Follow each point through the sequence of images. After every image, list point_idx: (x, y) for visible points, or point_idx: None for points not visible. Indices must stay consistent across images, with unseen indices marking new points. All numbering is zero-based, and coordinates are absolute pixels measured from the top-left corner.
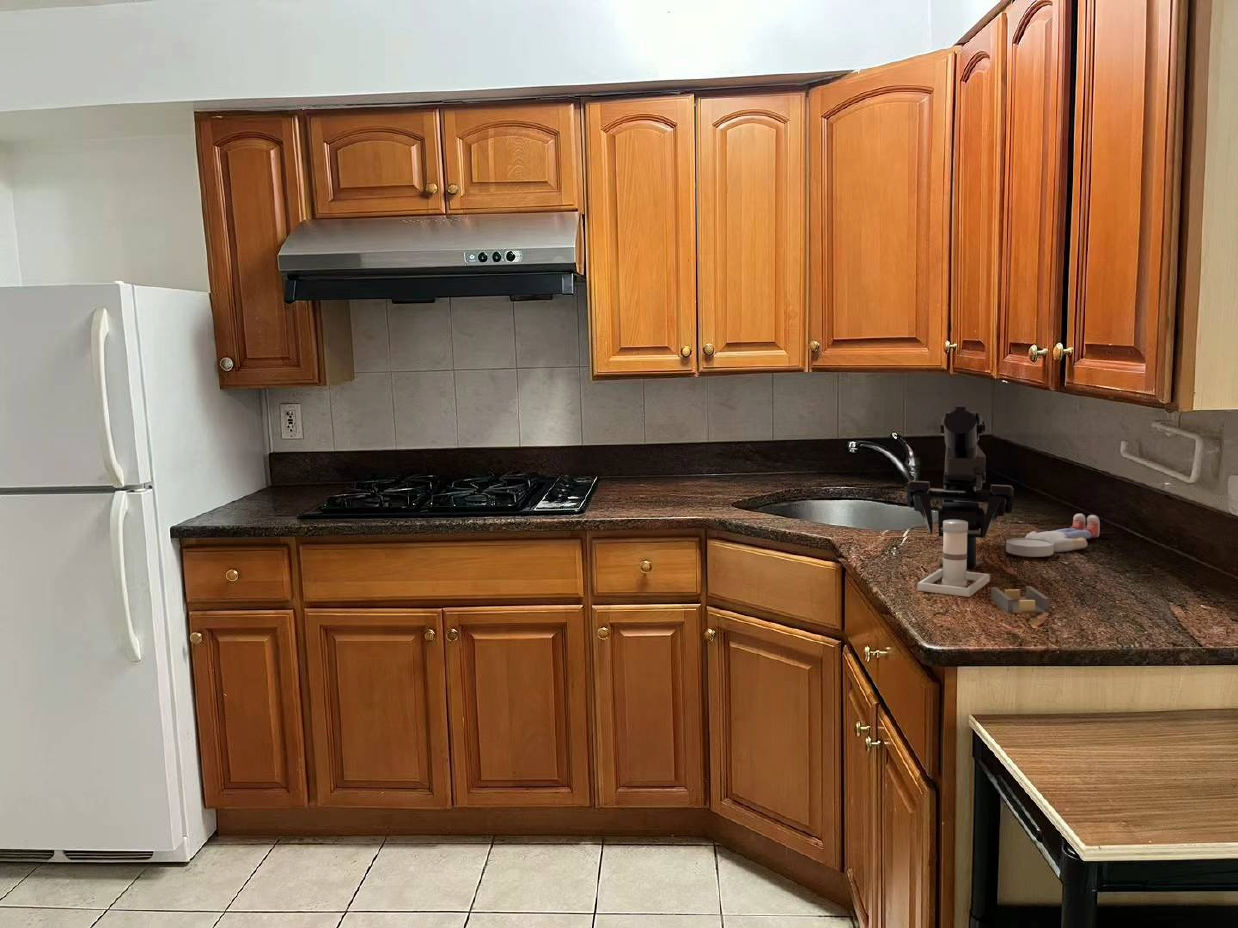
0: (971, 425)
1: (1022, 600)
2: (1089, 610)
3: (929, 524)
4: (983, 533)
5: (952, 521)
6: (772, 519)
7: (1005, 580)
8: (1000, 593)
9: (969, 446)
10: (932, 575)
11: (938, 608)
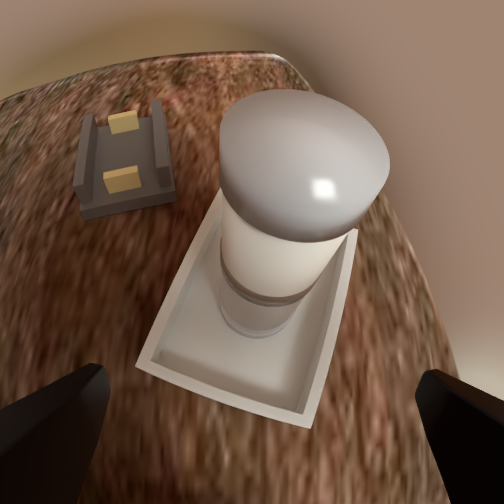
0: None
1: (130, 113)
2: (12, 195)
3: (464, 385)
4: (99, 365)
5: (331, 145)
6: None
7: (94, 458)
8: (162, 126)
9: None
10: (331, 322)
11: None
